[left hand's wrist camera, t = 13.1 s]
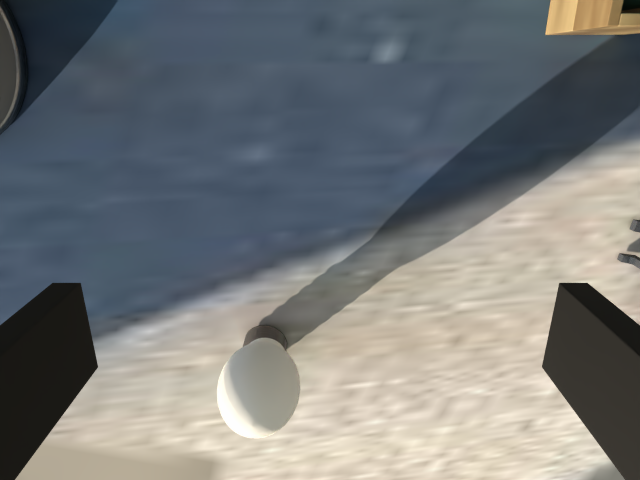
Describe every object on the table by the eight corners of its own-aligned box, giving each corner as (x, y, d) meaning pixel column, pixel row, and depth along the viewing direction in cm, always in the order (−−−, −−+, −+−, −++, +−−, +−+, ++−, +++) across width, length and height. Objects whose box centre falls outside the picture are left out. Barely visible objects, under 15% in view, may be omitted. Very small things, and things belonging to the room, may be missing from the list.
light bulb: (219, 347, 44) (188, 432, 34) (259, 298, 42) (239, 372, 32) (276, 382, 46) (263, 474, 35) (317, 336, 44) (316, 419, 33)
